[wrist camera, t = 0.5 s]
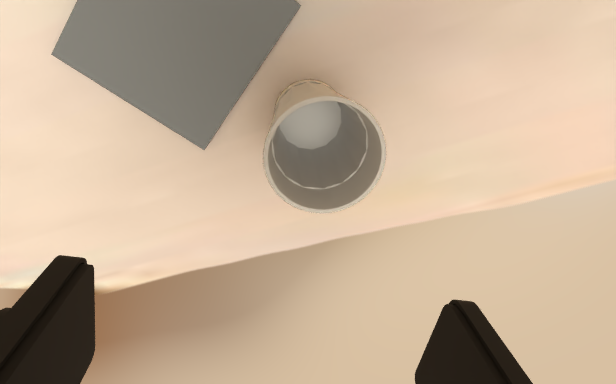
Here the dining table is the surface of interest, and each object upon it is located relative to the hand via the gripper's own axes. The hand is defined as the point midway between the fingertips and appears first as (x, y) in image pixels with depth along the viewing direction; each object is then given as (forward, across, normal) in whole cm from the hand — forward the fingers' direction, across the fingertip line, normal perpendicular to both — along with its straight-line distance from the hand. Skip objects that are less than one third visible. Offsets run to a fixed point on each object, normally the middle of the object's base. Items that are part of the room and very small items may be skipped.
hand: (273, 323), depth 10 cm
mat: (+27, +8, -5) cm, 29 cm away
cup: (+28, -4, 0) cm, 28 cm away
